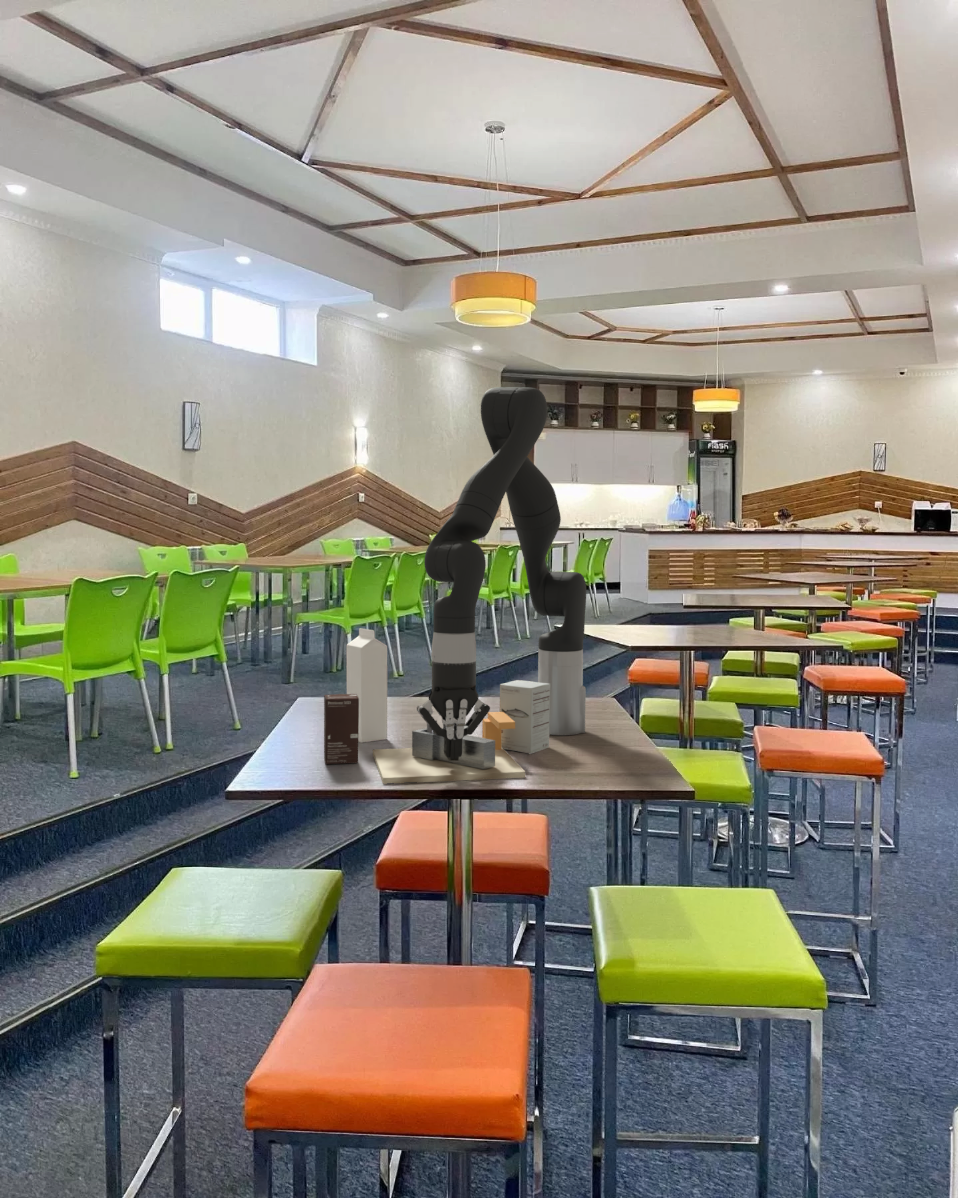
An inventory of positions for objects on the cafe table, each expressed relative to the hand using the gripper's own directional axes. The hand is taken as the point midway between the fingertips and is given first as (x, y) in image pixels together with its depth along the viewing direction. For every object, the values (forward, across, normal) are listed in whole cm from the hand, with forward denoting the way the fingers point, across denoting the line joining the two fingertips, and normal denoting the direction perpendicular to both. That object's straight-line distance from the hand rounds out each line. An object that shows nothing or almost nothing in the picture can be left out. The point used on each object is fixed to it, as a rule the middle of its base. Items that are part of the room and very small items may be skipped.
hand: (453, 759), depth 163 cm
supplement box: (+3, +18, +15) cm, 24 cm away
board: (+2, 0, +6) cm, 7 cm away
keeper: (+2, +11, +9) cm, 14 cm away
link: (+1, +2, +5) cm, 5 cm away
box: (+3, -17, +14) cm, 22 cm away
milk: (+3, -9, +32) cm, 34 cm away
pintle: (+2, -1, +9) cm, 10 cm away
